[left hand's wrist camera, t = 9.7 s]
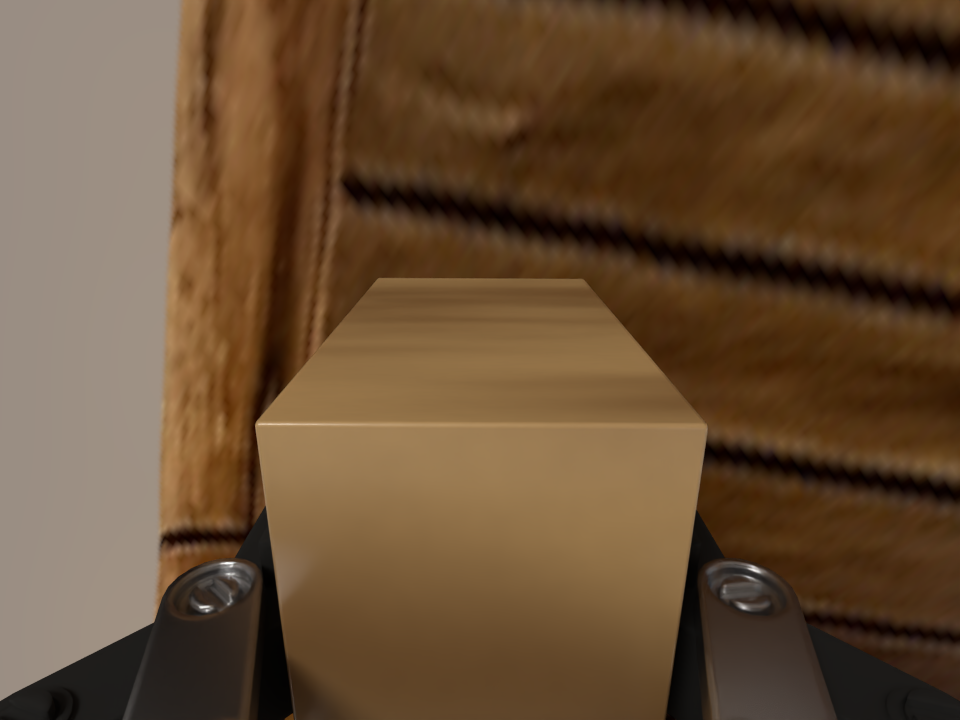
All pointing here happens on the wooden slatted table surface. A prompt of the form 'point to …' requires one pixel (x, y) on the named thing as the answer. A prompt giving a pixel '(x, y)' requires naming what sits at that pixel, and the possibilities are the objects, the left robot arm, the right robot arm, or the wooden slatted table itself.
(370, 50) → the wooden slatted table surface
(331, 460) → the bar
